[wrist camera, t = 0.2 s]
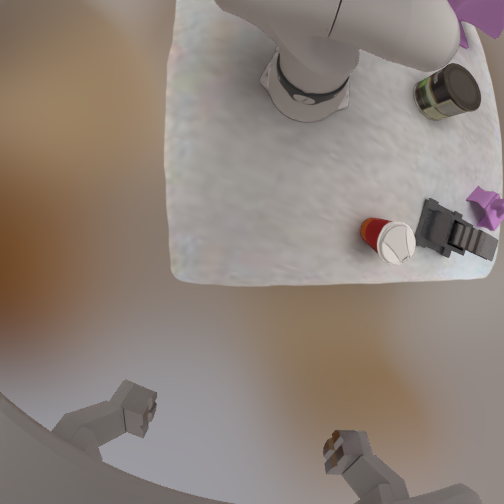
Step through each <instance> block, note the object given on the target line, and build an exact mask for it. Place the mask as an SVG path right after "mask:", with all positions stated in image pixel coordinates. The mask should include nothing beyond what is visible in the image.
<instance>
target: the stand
mask: <svg viewBox="0 0 504 504" xmlns="http://www.w3.org/2000/svg"><path fill="white" fill-rule="evenodd" d="M438 203H439V202H437V201H436V200H434V199H432V198H429V200H425V204H424V207H423V211H422V214H421V217H420V221H419V224H418V227H417V230H416V233H415V240H416V245H419V246H421V247H424V248H425V246H426V247H429V248H431V249H433V250H436V251H438V252H441V255H443V256H445V257H448V258H449V256H450V254H451V251H454V252H456V253H459V254H461V255H463V256H464V253H465V250H464V249H462V248H460V247H457V246H455V245H453V244H450V243H448V239H449V236H450V233H451V230H452V226H453V223H459V224H461V225H466V226H468V227H469V228H471V227H472V228H473V225H472V224H470V223H468V222H466V221H464V220H463V219H462V214H460V213H458V212H456V211H454V212H452V211H450V210H448V209H446V208H444V207H442V206H440V205H438Z"/></svg>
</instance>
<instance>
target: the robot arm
mask: <svg viewBox="0 0 504 504" xmlns="http://www.w3.org/2000/svg"><path fill="white" fill-rule="evenodd" d="M214 1H215V2H216V4H217V5H218V6H219V7H220V8H221V9H222V10H223V11H225V12H228V13H231V14H233V15H236V16H238V17H240V18H243V19H245V20H247V21H248V22H250V23H252V24H254V25H255V26H257V27H258V28H259V29H261V30H262V31H263V32H265V33H266V34H267V35H268V36H269V37H270V38H271V39H272V40H273V41H274V42H275V43H276V44H277V46H276V49H275V51H276V53H275V54H274V56H273V57H272V59H271V61H270V63H269V64H268V66H267V67H266V69H265V71H264V72H263V74H262V76H261V78H260V82H261V84H262V85H263V86H264V87H265V88H266V89H267V90H268V91H269V93H270V96H271V98H272V101H273V103H274V104H275V106H276V107H277V108H278V109H279V110H280V111H281V112H282V113H283V114H284V115H286V116H287V117H289V118H291V119H294V120H297V121H301V122H315V121H319V120H322V119H324V118H326V117H327V116H329V115H330V114H331V113H333V112H334V111H338V110H342V109H345V108H347V107H348V105H349V75H350V74H351V73H352V71H353V70H354V69H355V67H356V66H357V64H358V61H359V49H361V50H364V51H366V52H369V53H371V54H374V55H376V56H378V57H381V58H383V59H385V60H387V61H391V62H394V63H398V64H401V65H404V66H407V67H411V68H414V69H417V70H421V71H424V72H431V71H435V70H438V69H440V68H442V67H444V66H445V65H446V64H448V63H449V62H450V61H451V60H452V59H453V57H454V56H455V54H456V52H457V50H458V48H459V44H460V27H459V22H458V19H457V17H456V14H455V12H454V11H453V9H452V8H451V6H450V4H449V3H448V1H447V0H214ZM267 75H268V77H267ZM156 398H157V392H155V391H152V390H150V389H147V388H145V387H143V386H140V385H138V384H135V383H133V382H130V381H128V380H124V381H123V382H122V384H121V385H120V386H119V388H118V389H117V391H116V392H115V394H114V395H113V397H112V398H111V400H110V401H109V402H108V401H104V402H101V403H98V404H95V405H92V406H89V407H86V408H83V409H80V410H77V411H73V412H70V413H67V414H65V415H64V416H63V417H62V418H61V420H60V421H59V422H58V423H57V425H56V426H55V427H54V429H53V430H52V431H49V430H48V429H46V428H45V427H43V426H42V425H41V424H39V423H38V422H36V421H35V420H34V419H32V418H31V417H30V416H28V415H27V414H26V413H25V412H23V411H22V410H21V409H20V408H18V407H17V406H16V405H15V404H14V403H12V402H11V401H10V400H9V399H8V398H6V397H5V396H4V395H3V394H2V393H1V392H0V504H234V503H228V502H222V501H217V500H212V499H208V498H203V497H199V496H195V495H191V494H188V493H184V492H180V491H177V490H174V489H170V488H167V487H164V486H161V485H158V484H155V483H152V482H149V481H147V480H144V479H141V478H139V477H136V476H134V475H131V474H129V473H127V472H124V471H122V470H119V469H118V468H115V467H113V466H111V465H109V464H107V463H105V462H103V461H102V457H101V454H100V451H99V448H98V447H99V446H101V445H103V444H105V443H107V442H109V441H111V440H113V439H115V438H117V437H118V436H120V435H122V434H124V433H126V432H128V433H131V434H133V435H136V436H139V437H142V438H144V436H145V434H146V432H147V430H148V423H149V422H151V421H152V419H153V417H154V414H155V411H156V405H157V404H156V402H155V400H156ZM323 455H324V457H325V458H326V459H327V461H326V462H325V470H326V474H342V476H343V477H344V479H345V480H346V482H347V483H348V484H349V485H350V487H351V488H352V489H353V490H354V491H355V493H356V494H357V495H358V497H359V498H360V500H359V501H357V502H356V503H355V504H482V502H481V499H480V497H479V495H478V494H477V493H476V492H475V491H473V490H472V489H470V488H469V487H468V486H466V485H464V484H462V483H458V484H454V485H452V486H449V487H446V488H443V489H440V490H437V491H434V492H430V493H427V494H423V495H419V496H416V497H412V498H409V494H408V491H407V488H406V484H405V481H404V480H403V479H402V478H401V477H400V476H399V475H398V474H396V473H395V472H394V471H393V470H392V469H391V468H390V467H388V466H387V465H386V464H385V463H384V462H383V461H382V460H380V459H379V458H378V457H377V456H376V455H373V453H372V449H371V446H370V443H369V439H368V436H367V433H366V432H365V431H355V430H335V431H334V432H333V433H332V438H330V439H328V440H327V442H326V443H325V445H324V448H323Z"/></svg>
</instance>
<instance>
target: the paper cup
mask: <svg viewBox="0 0 504 504" xmlns="http://www.w3.org/2000/svg"><path fill="white" fill-rule="evenodd" d="M361 236H362V238H363V240H364V241H365V242H366V243H367V244H368V245H369V246H370V247H372V248H373V249H374V250H375V251H376V252H377V253H378V254H379V256H380V258H381V259H382V260H383V261H384V262H385V263H387V264H389V265H399V264H401V263H404V262H405V261H407V260H408V258H411V256H412V255H413V253H414V250H415V245H416V240H415V236H414V234H413V231H412V229H411V228H410V227H409V226H408V225H407V224H405V223H403V222H399V221H396V222H392V221H388V220H383V219H379V218H369V219H367V220H365V221H364V222H363V224H362V226H361Z"/></svg>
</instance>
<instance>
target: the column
mask: <svg viewBox="0 0 504 504" xmlns="http://www.w3.org/2000/svg"><path fill="white" fill-rule="evenodd" d="M448 243H450V244H453V245H455V246H457V247H460V248H462V249H464V250H467V251H469V252H471V253H473V254H475V255H477V256H480V257H482V258H484V259H486V260H487V259H488V260H490V261H492V260H493V257H494V254H495V250H496V247H497V244H498V240H497V239H496V238H494V237H492V236H491V235H489V234H487V233H485V232H483V231H482V230H476V229H475V228H472V227H471V228H469V227H468V226H466V225H461V224H459V223H453V226H452V230H451V233H450V236H449V239H448Z"/></svg>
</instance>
